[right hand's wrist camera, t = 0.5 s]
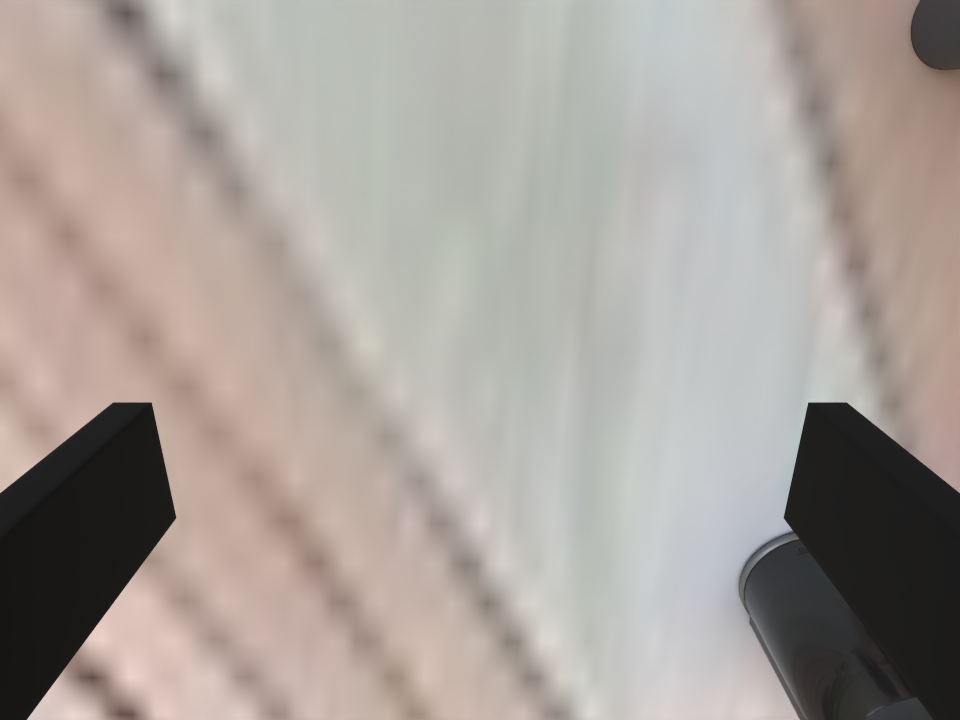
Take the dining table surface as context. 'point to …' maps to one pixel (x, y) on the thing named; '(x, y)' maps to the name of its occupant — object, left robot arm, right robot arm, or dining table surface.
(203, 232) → the dining table surface
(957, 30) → the jar
